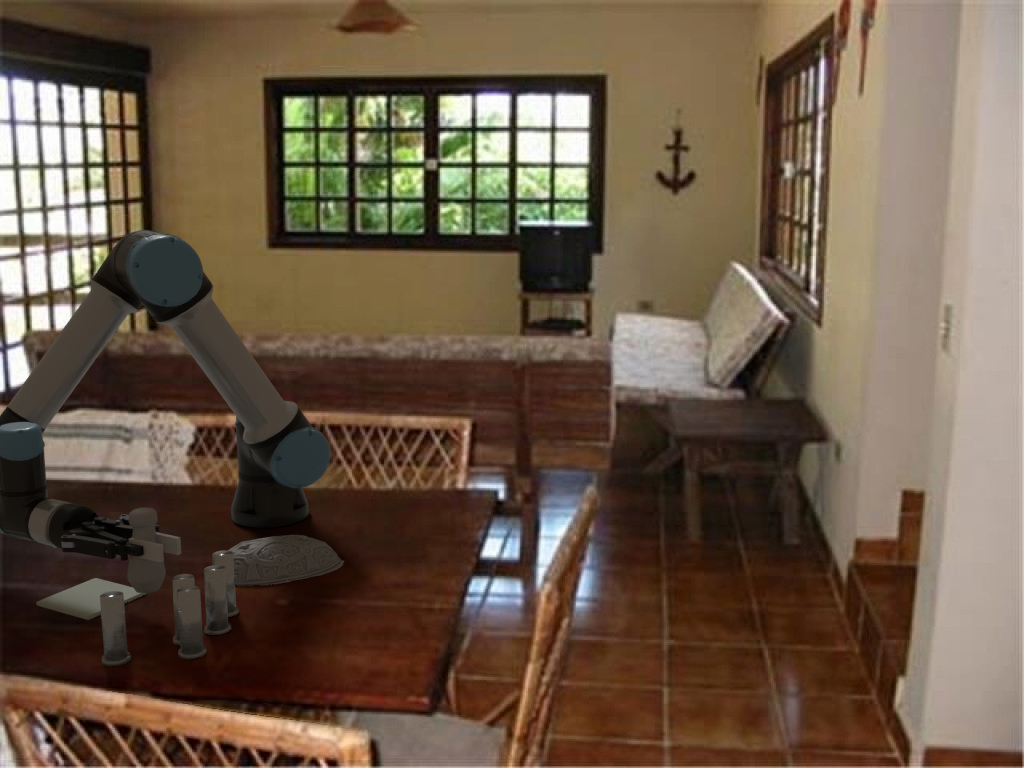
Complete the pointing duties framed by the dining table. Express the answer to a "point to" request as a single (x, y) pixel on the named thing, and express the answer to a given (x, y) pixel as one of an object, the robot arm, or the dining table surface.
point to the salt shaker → (142, 571)
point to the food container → (282, 560)
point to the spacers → (178, 612)
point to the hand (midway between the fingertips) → (170, 549)
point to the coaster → (86, 598)
